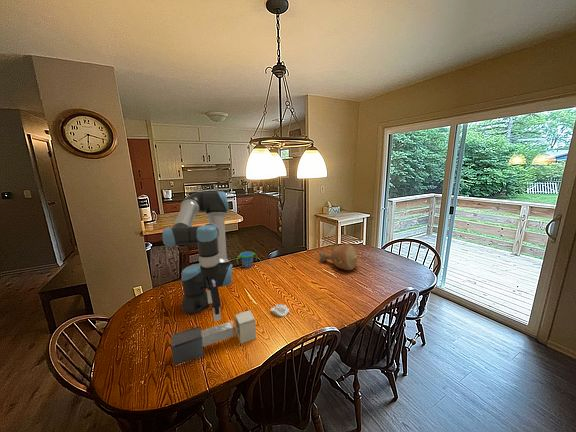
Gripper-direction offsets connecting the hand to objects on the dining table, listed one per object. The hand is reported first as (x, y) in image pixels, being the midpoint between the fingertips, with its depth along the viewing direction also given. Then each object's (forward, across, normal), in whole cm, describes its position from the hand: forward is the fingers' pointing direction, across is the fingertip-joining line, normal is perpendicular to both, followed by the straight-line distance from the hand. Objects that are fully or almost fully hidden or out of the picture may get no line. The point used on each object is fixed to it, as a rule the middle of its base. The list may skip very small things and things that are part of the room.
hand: (214, 310), depth 99 cm
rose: (+17, +8, -34) cm, 39 cm away
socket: (+17, 0, -13) cm, 21 cm away
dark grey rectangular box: (+17, 0, +11) cm, 20 cm away
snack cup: (+17, +72, -37) cm, 82 cm away
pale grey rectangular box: (+13, 0, +4) cm, 14 cm away
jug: (+17, +38, -98) cm, 106 cm away
